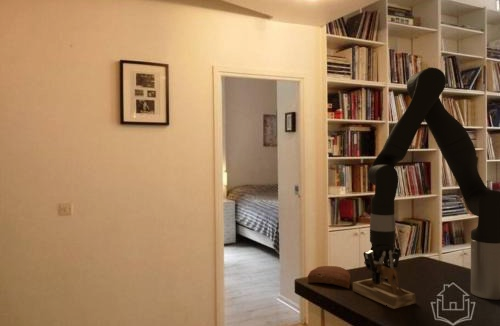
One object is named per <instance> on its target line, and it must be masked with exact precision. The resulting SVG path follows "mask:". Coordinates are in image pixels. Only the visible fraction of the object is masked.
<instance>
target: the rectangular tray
mask: <svg viewBox="0 0 500 326" xmlns="http://www.w3.org/2000/svg"><path fill="white" fill-rule="evenodd" d="M400 289H401V290H403V291H404V292H405V293H402V292H401V291H400V290H399V288H398V286H397V290H396V293H395V294H393V293H391V291H393V288H392V287H391V285H390V284H389V282H386V281H383V284H378V285H374V283H373V281H372V277H371V278H367V279H363V280H357V281H352V292H355V293H357V294H360V295H361V296H363V297H366V298H367V299H368V298H369V299H370V300H373V301H374V302H377V303H379V304H382V305H383V306H386V305H387V306H386V307H388V308H390V309H393V310H395V309H398V308H402V307H407V306H411V305H414V304H416V293H414V292H411V291H408V290H406V289H404V288H401V287H400Z"/></svg>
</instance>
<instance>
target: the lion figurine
mask: <svg viewBox="0 0 500 326" xmlns="http://www.w3.org/2000/svg"><path fill="white" fill-rule="evenodd" d="M376 262H379V261H377V260H376ZM363 263H364V265H365V266H366V263H365V261H363ZM376 267H377V264H376ZM376 267H375V268H376ZM379 273H380V284H383V282H384V280H385V279H388V282H387V283H388V284H390V285H391V287H392V288H393V291H391V293H393V294H395V293H396V290H397V287H398V288H399V290H400V291H401V292H402V293H405V292H404V291H403V290H401V289H402V288H401V287H400V284H399V280H398V276H399V275H398V272H397V270H396V268H395V267H394V268H388V267H386V266H385V265H384V262H383V264H382V266H381V268H380V272H379ZM374 285H377V284H374ZM400 288H401V289H400Z"/></svg>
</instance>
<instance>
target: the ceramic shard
mask: <svg viewBox="0 0 500 326" xmlns="http://www.w3.org/2000/svg"><path fill="white" fill-rule="evenodd" d="M351 277H352V275H351V274H350V272H349V271H348V269H345V267H341V266H337V265H323V266H317V267H315V268H314V269H312V270H310V271H309V273H308V275H307V283H308V284H313V283H314V284H317V283H321V284H329V285H334V286H339V287H342V288H345V289H350V283H351Z"/></svg>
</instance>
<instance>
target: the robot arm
mask: <svg viewBox="0 0 500 326" xmlns="http://www.w3.org/2000/svg"><path fill="white" fill-rule="evenodd" d="M446 86H447V77H446V75H445V73H444V72H443V71H442V70H441V69H440V68H437V67H428V68H424V69H422V70H420V71H418V72H416V73H413V74H412V75H411V76H410V77H409V79H408V80H407V82H406V92H407V94H408V96H409V98H410V100H411V101H410V102H409V104H408V106H407V107H406V109H405V111H404V112H403V113H402V115H401V116H400V118H399V119H398V120H397V121H396V123H395V124H394V126H393V127H392V129H391V130H390V133H389V134H388V136H387V138H386V141H385V143H384V145H383V148H382V149H381V151H380V152H379V154H378V155H377V156H376V158H375V159H374V160H373V162H372V164H371V165H370V167H369V170H368V172H367V177H368V181H369V182H370V184H372V185H373V186H375V188H374V195H372V196H371V198H370V217H369V242H370V243H371V248H370V250H369V251H364V252H363V253H362V254H363V258H364V262H365V263H366V265H365V268H366V270H368V271H371V273H372V274H371V278H372V281H373V283H374V284H377V285H378V284H380V273H379V272H380V268H381V266H382V264H383V263H384V265H385V266H386V267H388V268H394V269H395V268H397V267H398V265H399V261H400V258H401V257H400V256H401V251H402V250H401V248H398V247H394V245H395V244H396V217H395V199H396V195H397V190H398V186H399V174H398V172H397V169H396V168H395V167H396V166H397V165H398V163H399V162H401V161H403V160H404V159H405V157H406V155H407V153H408V151H409V149H410V147H411V145H412V143H413V141H414V139H415V136H416V134H417V132H418V130H419V129H420V127H421V126H422V123H423V121H425V123H426V125H427V127H428V129H429V131H430V133H431V135H432V137H433V139H434V140H435V143H436V145H437V148H438V149H439V151H440V152H441V154H442V157H443V159H444V161H445V162H446V164H447V165H448V167H449V169H450V172H451V174H452V176H453V177H454V179H455V181H456V183H457V185H458V187H459V190H460V193H461V196H462V198H463V201H464V203H465V207H466V208H467V210H468V211H469V212H470V213H471V214H472V215H474V216H475V217H477V218H478V219H477V220H478V221H477V226H476V228H473V229H471V230H470V293H471V294H472V295H474V296H475V297H478V298H482V299H487V300H494V301H495V300H497V301H498V300H500V191H499V190H496V189H489V188H488V187H487V186H486V184H485V183H484V181H483V179H482V177H481V175H480V173H479V170H478V164H477V163H478V162H477V150H476V148H475V144H474V143H473V141H472V139H471V137H470V134H469V133H468V131H467V130H466V128H465V127H464V125H463V124H462V123H461V122H460V121H459V120H458V119H456V118H455V117H454V116H453V115H452V114H451V113H450V112H449V111H448V110H447V109H446V107H445V106H444V105H443V103H442V100H441V98H440V96H441V95H442V93H443V92H444V91H445V88H446ZM376 260H377V261H379V262H376ZM376 264H377V267H376ZM375 267H376V268H375ZM384 282H386V283H389V282H388V279H385V278H384Z"/></svg>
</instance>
